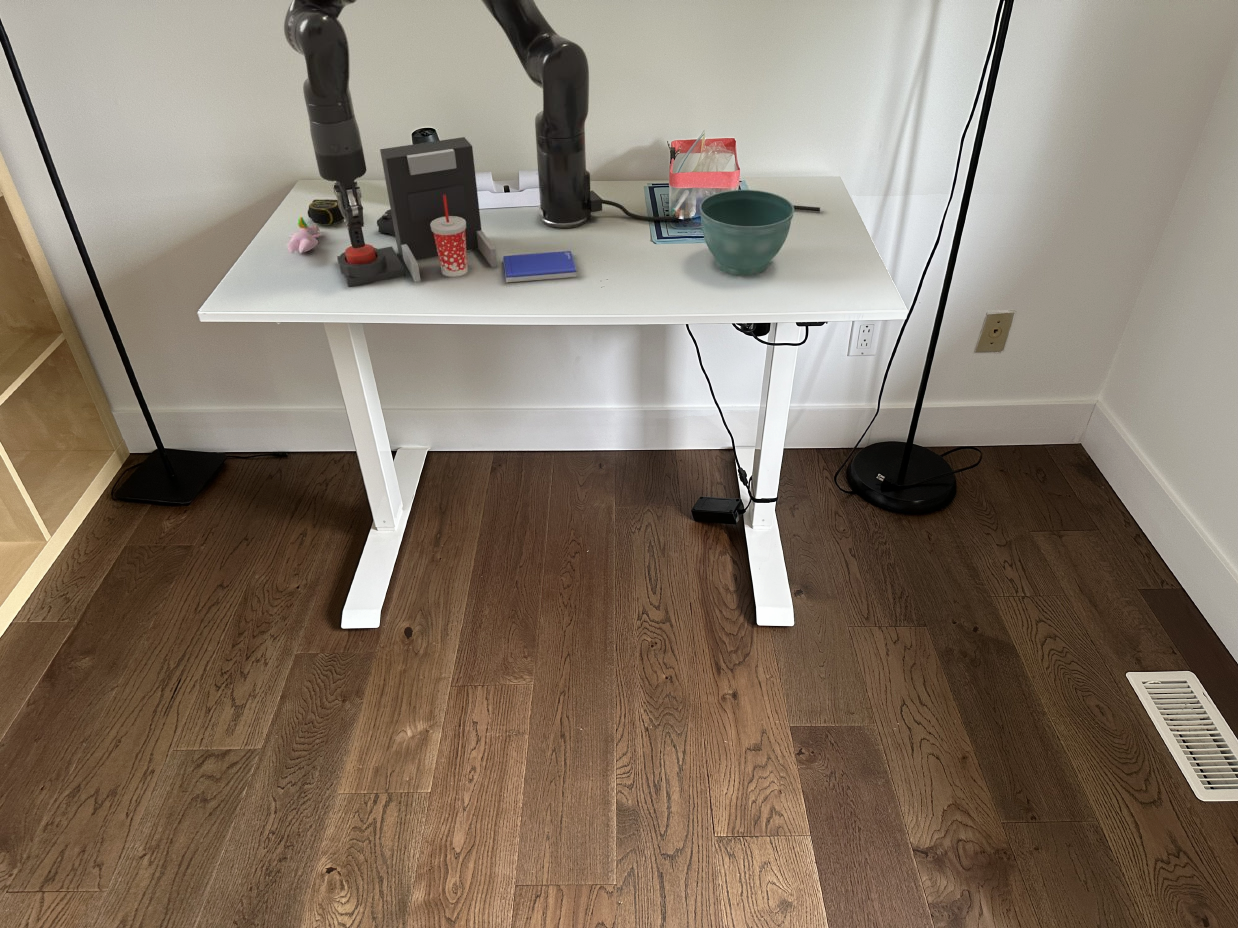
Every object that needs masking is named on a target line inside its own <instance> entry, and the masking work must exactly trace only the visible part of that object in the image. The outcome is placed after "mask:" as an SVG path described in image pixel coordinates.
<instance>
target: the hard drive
mask: <svg viewBox="0 0 1238 928" xmlns="http://www.w3.org/2000/svg"><path fill="white" fill-rule="evenodd" d="M502 259H503V260H502V261H503V268H504V274H505V283H517V282H531V281H540V280H541V281H542V280H555V279H566V278H577V277H578V273H577V267H576V264H575V260H574V256H573V251H572V250H563V251H550V252H539V253H538V252H537V253H524V254H523V253H522V254H512V255H503V257H502Z"/></svg>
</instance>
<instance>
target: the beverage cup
mask: <svg viewBox="0 0 1238 928" xmlns="http://www.w3.org/2000/svg"><path fill="white" fill-rule="evenodd" d="M443 200H444V207H445V214H446V217H441V218H437V219H435V220H433V221H432V222H431V224H430V226H431V230H432V232H433V233H434V238H435V242H436V247H437V252H438V256H437V257H438V260H439V265H440V271H441V273H442V275H443V276H446V277H453V278H455V277H460V276H463V275H465V274H467V273H468V269H469V268H468V251H466V236H465V228H466V221H465V220H464V219H463V218H461V217H457V216H448V208H447V201H446V195H445V194H444V195H443Z"/></svg>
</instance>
